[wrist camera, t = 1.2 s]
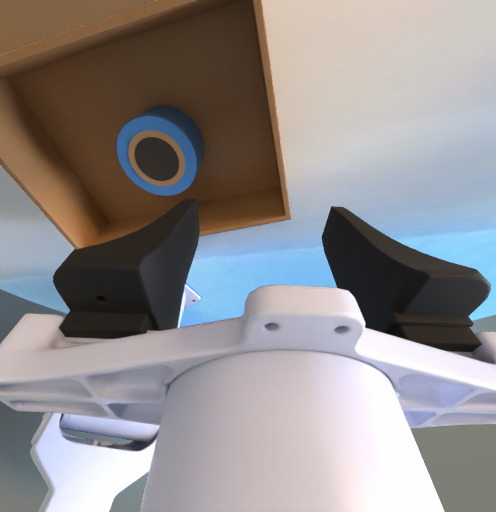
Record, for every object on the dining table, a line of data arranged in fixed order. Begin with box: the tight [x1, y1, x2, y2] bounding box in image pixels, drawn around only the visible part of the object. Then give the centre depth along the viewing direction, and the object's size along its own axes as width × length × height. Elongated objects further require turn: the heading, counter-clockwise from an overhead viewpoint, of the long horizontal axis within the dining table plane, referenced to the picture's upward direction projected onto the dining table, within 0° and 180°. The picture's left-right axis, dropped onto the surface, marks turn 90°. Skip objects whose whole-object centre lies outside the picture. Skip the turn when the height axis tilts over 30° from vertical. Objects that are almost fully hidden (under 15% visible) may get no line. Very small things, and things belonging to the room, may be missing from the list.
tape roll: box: [116, 105, 204, 196], centre depth 18 cm, size 5×5×4 cm
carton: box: [0, 0, 291, 249], centre depth 18 cm, size 18×13×5 cm
